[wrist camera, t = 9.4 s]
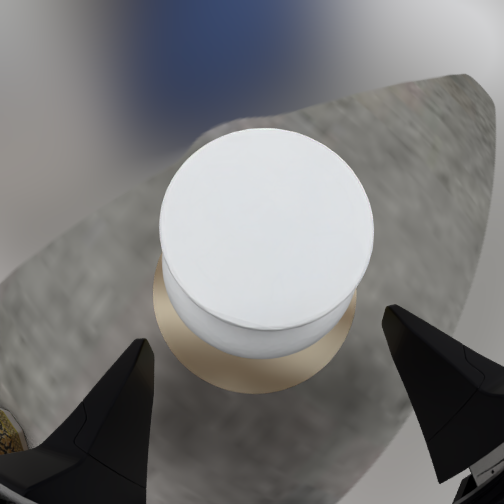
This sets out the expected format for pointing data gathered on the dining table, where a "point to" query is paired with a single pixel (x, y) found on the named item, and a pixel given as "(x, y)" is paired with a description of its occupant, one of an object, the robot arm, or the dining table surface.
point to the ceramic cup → (10, 434)
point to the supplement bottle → (264, 242)
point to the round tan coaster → (238, 368)
